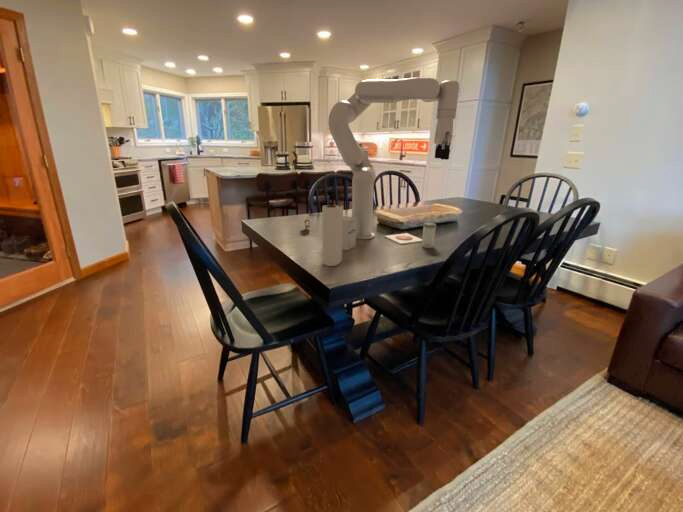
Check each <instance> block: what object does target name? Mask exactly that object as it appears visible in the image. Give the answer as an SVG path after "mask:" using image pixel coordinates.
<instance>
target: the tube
mask: <svg viewBox="0 0 683 512" xmlns="http://www.w3.org/2000/svg"><path fill="white" fill-rule="evenodd" d="M422 227H423V231H422V238H421V239H422V242H421V247H422V248H424V249H433V248H434V244H435V243H434V242H435V236H436V230H437V228H436V227H437V224H436V223H433V222H423V226H422Z"/></svg>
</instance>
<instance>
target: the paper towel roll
mask: <svg viewBox="0 0 683 512" xmlns="http://www.w3.org/2000/svg"><path fill="white" fill-rule="evenodd" d="M321 209H322V213H321V215H322V216H321V217H322V221H321V223H322V224H321V225H322V231H321V232H322V241H321V242H322V247H321V248H322V249H321V250H322V251H321V252H322V257H321V258H322V265H324V266H328V267H335V266H338V265H339V264H341V262H342V261H343V250H342V238H343V216H344V205H341V206H339V205H336V204H334V205H333V204H327V205H325V204H324V205H322V208H321Z"/></svg>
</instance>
